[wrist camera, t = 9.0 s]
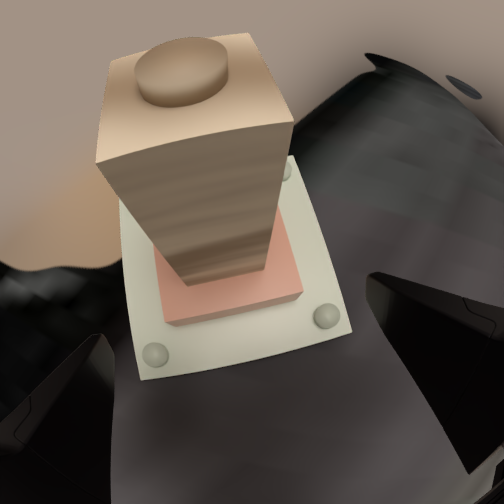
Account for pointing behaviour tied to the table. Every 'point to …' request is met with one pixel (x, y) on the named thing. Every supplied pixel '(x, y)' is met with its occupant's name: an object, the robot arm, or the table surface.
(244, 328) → the foundation
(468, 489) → the table surface
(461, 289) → the table surface
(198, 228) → the tower piece
